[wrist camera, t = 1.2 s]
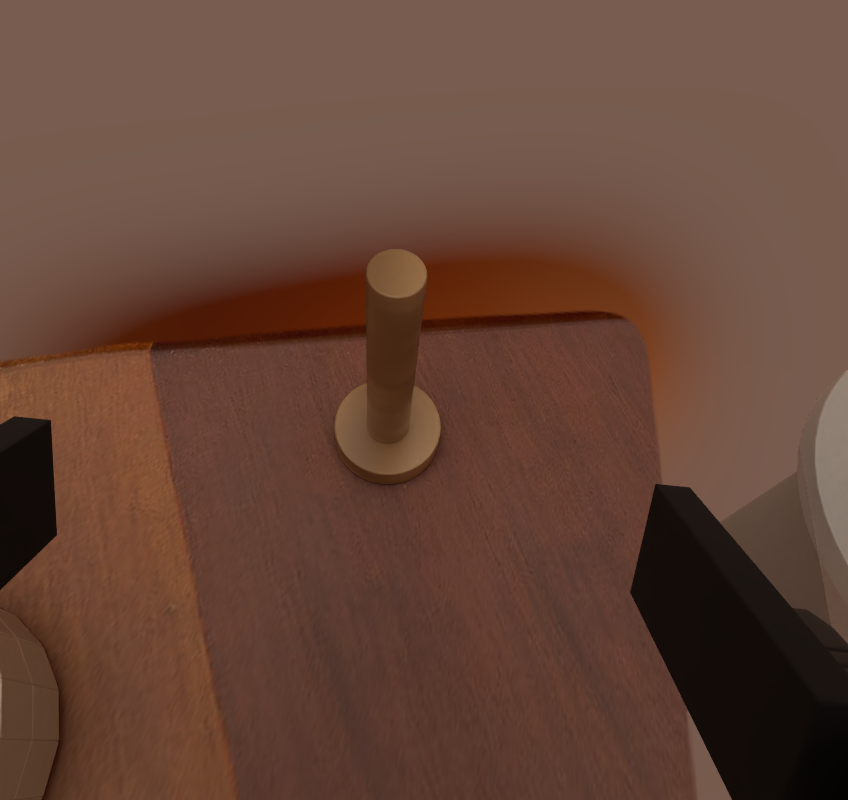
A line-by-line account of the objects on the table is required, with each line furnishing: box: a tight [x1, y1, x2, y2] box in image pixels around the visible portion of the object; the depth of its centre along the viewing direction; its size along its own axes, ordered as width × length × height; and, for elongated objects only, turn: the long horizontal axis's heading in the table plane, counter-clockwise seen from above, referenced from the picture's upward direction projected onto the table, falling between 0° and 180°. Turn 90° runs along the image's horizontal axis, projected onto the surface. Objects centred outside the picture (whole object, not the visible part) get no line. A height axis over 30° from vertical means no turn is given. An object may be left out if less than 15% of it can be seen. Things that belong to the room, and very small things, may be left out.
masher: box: [334, 249, 441, 484], centre depth 31 cm, size 6×6×14 cm
